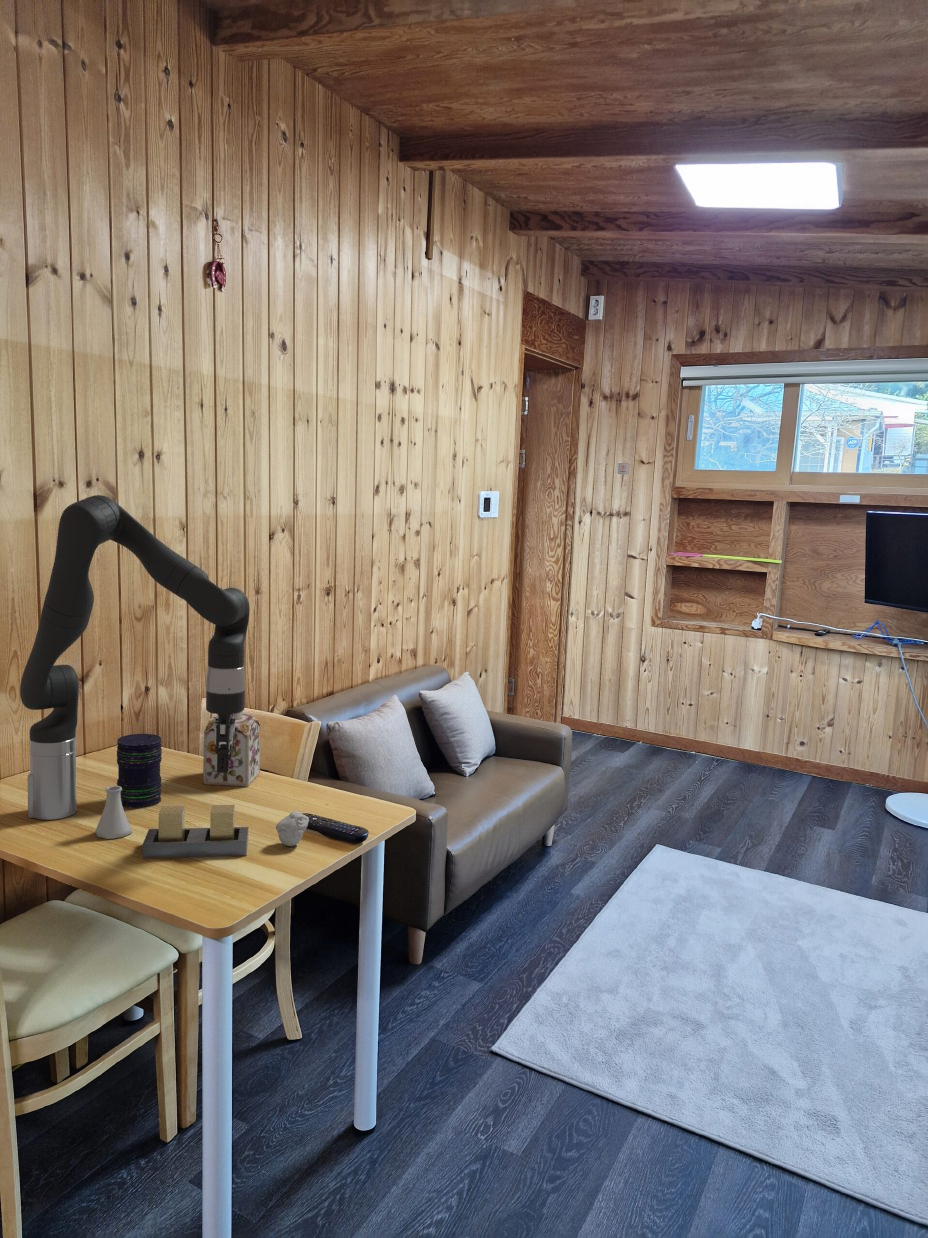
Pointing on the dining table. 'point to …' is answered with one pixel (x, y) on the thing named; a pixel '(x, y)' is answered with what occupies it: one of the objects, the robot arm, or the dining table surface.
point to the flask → (113, 816)
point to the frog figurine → (292, 828)
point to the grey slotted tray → (196, 844)
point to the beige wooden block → (222, 822)
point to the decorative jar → (234, 753)
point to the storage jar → (139, 770)
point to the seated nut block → (172, 824)
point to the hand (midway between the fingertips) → (224, 765)
